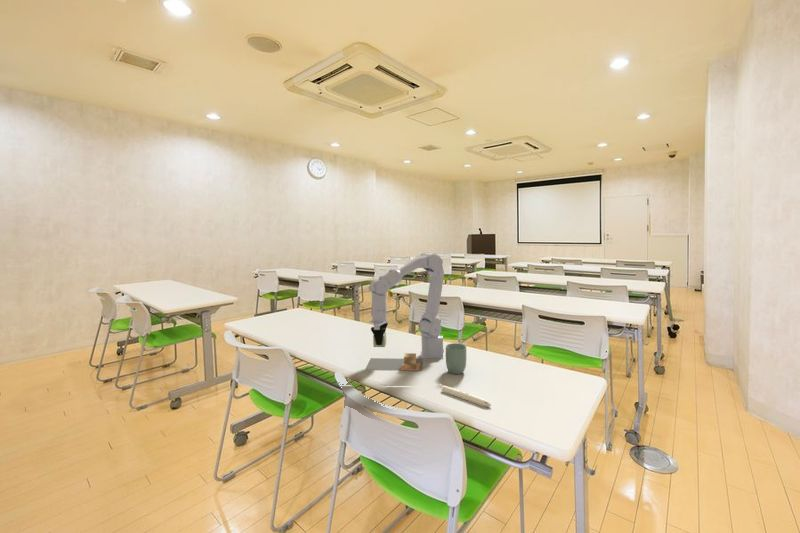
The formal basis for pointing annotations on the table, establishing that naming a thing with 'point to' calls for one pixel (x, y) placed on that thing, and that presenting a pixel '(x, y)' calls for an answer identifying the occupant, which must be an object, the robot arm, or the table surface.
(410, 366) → the maple block
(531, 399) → the table surface
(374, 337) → the sage block
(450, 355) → the cup
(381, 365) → the mat
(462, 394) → the marker
